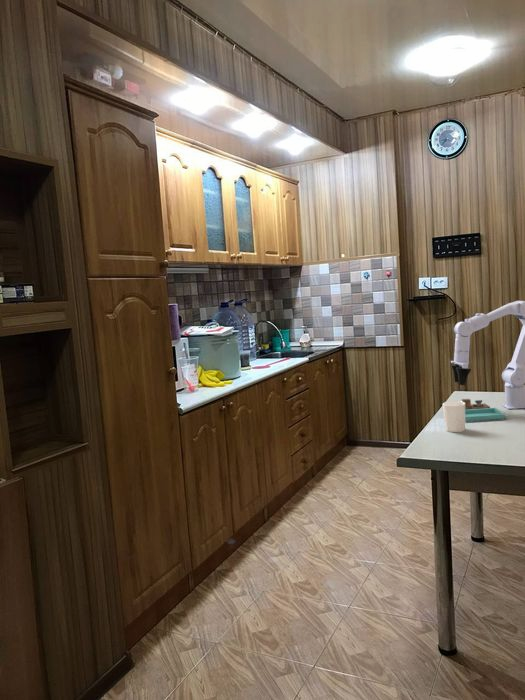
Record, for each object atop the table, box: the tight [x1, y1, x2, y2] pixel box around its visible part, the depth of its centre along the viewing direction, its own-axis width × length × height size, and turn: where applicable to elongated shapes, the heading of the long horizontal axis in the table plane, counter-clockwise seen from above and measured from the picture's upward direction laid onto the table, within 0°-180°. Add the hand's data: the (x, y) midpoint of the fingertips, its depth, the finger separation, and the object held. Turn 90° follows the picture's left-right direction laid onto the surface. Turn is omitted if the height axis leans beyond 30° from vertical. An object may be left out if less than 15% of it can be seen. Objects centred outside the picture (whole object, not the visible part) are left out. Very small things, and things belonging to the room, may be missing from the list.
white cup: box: [442, 400, 466, 433], centre depth 202 cm, size 8×8×10 cm
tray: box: [465, 407, 506, 423], centre depth 217 cm, size 16×12×2 cm
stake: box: [474, 399, 483, 407], centre depth 228 cm, size 3×2×4 cm
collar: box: [461, 398, 491, 410], centre depth 228 cm, size 10×7×5 cm
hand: (459, 383), depth 228 cm, fingers open, 7 cm apart
